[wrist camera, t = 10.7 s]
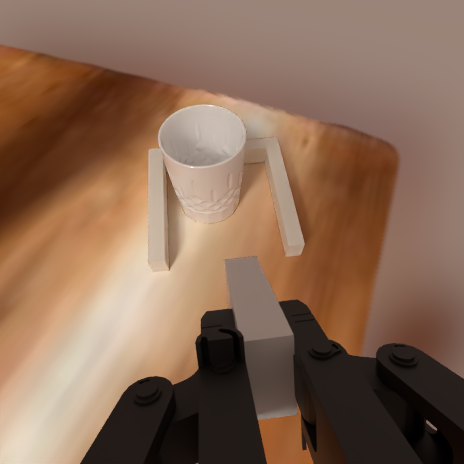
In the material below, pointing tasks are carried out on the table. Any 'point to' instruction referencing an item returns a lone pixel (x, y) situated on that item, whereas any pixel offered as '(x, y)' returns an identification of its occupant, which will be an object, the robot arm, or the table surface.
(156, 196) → the bay
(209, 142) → the white cup
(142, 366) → the table surface
